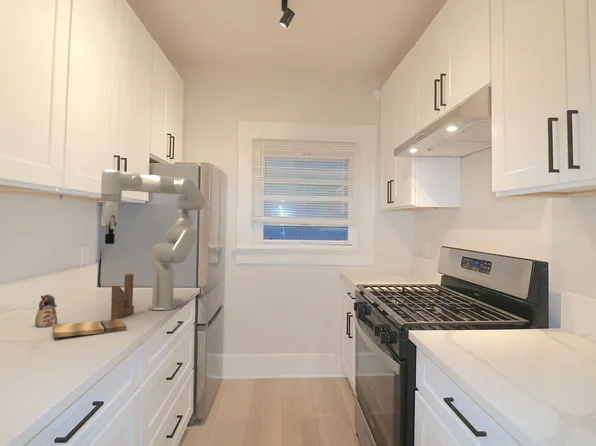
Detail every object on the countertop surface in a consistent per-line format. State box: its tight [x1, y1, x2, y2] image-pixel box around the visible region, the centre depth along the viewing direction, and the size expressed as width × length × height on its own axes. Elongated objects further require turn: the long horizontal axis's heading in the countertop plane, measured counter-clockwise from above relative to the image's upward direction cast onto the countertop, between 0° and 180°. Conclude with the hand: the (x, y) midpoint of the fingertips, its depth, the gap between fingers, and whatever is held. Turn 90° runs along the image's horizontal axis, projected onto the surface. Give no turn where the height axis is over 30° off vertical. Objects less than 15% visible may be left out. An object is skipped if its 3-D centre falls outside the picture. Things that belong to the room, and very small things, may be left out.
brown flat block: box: [99, 318, 127, 334], centre depth 135 cm, size 7×12×2 cm, turn 38°
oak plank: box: [52, 320, 105, 338], centre depth 128 cm, size 15×12×2 cm
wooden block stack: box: [110, 273, 135, 320], centre depth 152 cm, size 4×11×18 cm, turn 172°
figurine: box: [34, 293, 58, 328], centre depth 136 cm, size 7×7×12 cm
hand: (109, 243), depth 144 cm, fingers closed
